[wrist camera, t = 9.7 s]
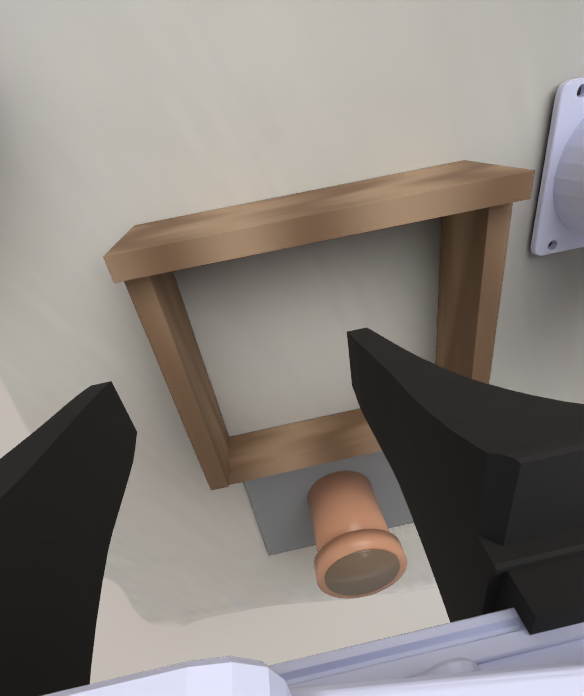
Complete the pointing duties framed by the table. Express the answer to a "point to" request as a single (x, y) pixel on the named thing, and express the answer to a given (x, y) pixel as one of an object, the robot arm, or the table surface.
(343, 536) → the terracotta pot
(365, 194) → the frame
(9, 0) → the table surface
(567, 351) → the table surface
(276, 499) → the slate mat
